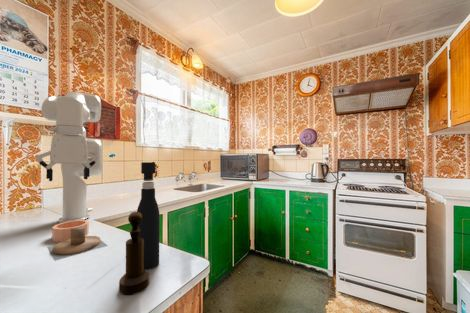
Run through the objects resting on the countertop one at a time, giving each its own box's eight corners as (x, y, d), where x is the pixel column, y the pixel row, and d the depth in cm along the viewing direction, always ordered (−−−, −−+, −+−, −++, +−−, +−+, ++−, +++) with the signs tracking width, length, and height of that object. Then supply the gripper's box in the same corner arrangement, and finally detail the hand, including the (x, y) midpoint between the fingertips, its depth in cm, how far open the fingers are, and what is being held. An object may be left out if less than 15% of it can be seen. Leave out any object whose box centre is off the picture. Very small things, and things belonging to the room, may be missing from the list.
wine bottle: (163, 264, 59) (164, 162, 60) (140, 273, 55) (141, 162, 55) (153, 257, 64) (154, 162, 64) (131, 264, 59) (132, 162, 60)
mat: (47, 248, 70) (47, 247, 70) (95, 236, 80) (95, 235, 80) (54, 262, 61) (54, 260, 61) (107, 246, 71) (107, 245, 71)
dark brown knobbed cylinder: (126, 278, 52) (127, 209, 52) (152, 277, 53) (153, 208, 53) (113, 296, 45) (114, 216, 46) (143, 294, 46) (144, 215, 46)
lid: (76, 238, 77) (76, 222, 77) (108, 239, 76) (108, 223, 77) (41, 254, 64) (41, 234, 65) (79, 255, 63) (79, 236, 64)
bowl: (70, 231, 86) (70, 219, 86) (94, 232, 85) (95, 220, 85) (44, 242, 75) (44, 228, 75) (71, 243, 74) (72, 229, 74)
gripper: (36, 127, 64) (34, 182, 63) (100, 133, 76) (100, 178, 75) (35, 130, 69) (34, 181, 68) (96, 135, 81) (95, 178, 80)
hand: (68, 180), depth 72 cm, fingers open, 9 cm apart
